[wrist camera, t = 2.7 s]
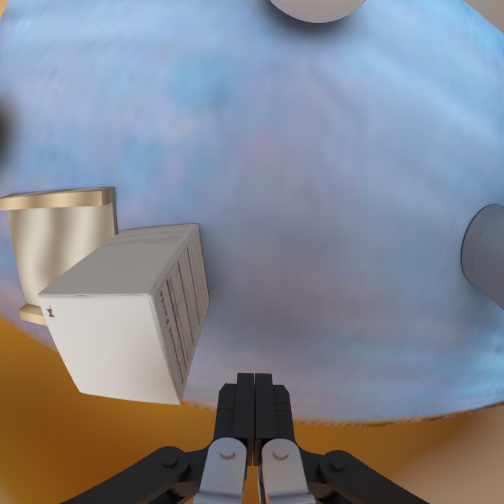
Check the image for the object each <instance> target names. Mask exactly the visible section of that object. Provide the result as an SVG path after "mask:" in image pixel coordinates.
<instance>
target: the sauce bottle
mask: <svg viewBox="0 0 504 504" xmlns="http://www.w3.org/2000/svg"><path fill="white" fill-rule="evenodd" d="M270 1H271V2H272V3H273V4H274V5H275V6H276V7H277V8H279V9H280V10H281V11H283V12H284V13H286V14H288V15H290V16H292V17H294V18H296V19H299V20H302V21H306V22H312V23H326V22H331V21H335V20H338V19H340V18H343V17H345V16H347V15H349V14H351V13H352V12H353V11H355V10H356V9H358V8H359V7H360V6H361V5H362V4H363V3H364V2H365V1H366V0H270Z"/></svg>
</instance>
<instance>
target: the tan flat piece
mask: <svg viewBox="0 0 504 504" xmlns="http://www.w3.org/2000/svg"><path fill="white" fill-rule="evenodd" d="M0 210H8V218H9V225H10V232H11V238H12V244H13V249H14V254H15V259H16V264H17V268H18V273H19V277H20V281H21V285H22V289H23V292H24V296H25V300H26V304H25V305H24V306H23V307H22V308H20V309H19V310H18V311H19V314H20V317H21V319H22V320H26V321H29V322H33V323H37V324H41V325H45V326H47V323H46V321H45V318H44V316H43V313H42V310H41V307H40V304H39V301H38V297H37V294H38V293H39V292H41V291H42V290H43V289H44V288H45V287H47V286H48V285H49V284H50V283H52V282H53V281H54V280H56V279H57V278H58V277H59V276H61V275H62V274H63V273H65V272H66V271H67V270H69V269H70V268H71V267H72V266H74V265H75V264H76V263H78V262H79V261H81V260H82V259H83V258H85V257H86V256H87V255H89V254H90V253H91V252H93V251H94V250H96V249H97V248H98V247H100V246H101V245H103V244H104V243H105V242H107V241H108V240H110V239H111V238H113V237H114V236H116V235H117V234H118V232H117V219H116V205H115V187H102V188H83V189H68V190H55V191H43V192H32V193H22V194H13V195H8V196H4V197H1V198H0Z"/></svg>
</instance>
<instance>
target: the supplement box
mask: <svg viewBox="0 0 504 504" xmlns="http://www.w3.org/2000/svg"><path fill="white" fill-rule="evenodd" d="M37 297H38V301H39V304H40V307H41V310H42V313H43V316H44V318H45V321H46V323H47V326H48V328H49V331H50V333H51V335H52V338H53V340H54V342H55V344H56V346H57V349H58V351H59V353H60V355H61V357H62V359H63V361H64V363H65V365H66V367H67V369H68V371H69V373H70V375H71V377H72V379H73V381H74V383H75V384H76V386H77V388H78V389H79V391H80V392H82V393H86V394H92V395H98V396H105V397H111V398H118V399H125V400H133V401H142V402H153V403H163V404H177V405H180V404H181V401H182V397H183V394H184V389H185V386H186V382H187V378H188V375H189V371H190V367H191V364H192V360H193V356H194V352H195V349H196V345H197V342H198V338H199V335H200V332H201V328H202V325H203V322H204V318H205V315H206V312H207V308H208V305H209V301H210V300H209V295H208V289H207V282H206V276H205V269H204V262H203V255H202V247H201V240H200V232H199V225H198V224H197V223H195V224H181V225H170V226H160V227H150V228H141V229H132V230H123V231H121V232H120V233H118V234H117V235H116V236H114V237H113V238H111V239H110V240H108V241H107V242H105V243H104V244H103V245H101V246H100V247H98V248H97V249H96V250H94V251H93V252H91V253H90V254H89V255H87V256H86V257H85V258H83V259H82V260H81V261H79V262H78V263H76V264H75V265H74V266H72V267H71V268H70V269H69V270H67V271H66V272H65V273H63V274H62V275H61V276H59V277H58V278H57V279H56V280H54V281H53V282H52V283H50V284H49V285H48V286H47V287H45V288H44V289H43V290H42V291H41V292H39V293H38V294H37Z"/></svg>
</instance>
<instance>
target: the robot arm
mask: <svg viewBox="0 0 504 504" xmlns="http://www.w3.org/2000/svg"><path fill="white" fill-rule="evenodd" d="M462 267H463V271H464V274H465V276H466V278H467V279H468V281H470V282H471V283H472V284H473V285H475V286H476V287H477V288H478V289H480V290H481V291H482V292H483V293H485V294H486V295H487V296H488V297H489V298H490V299H492V300H493V301H494V302H495V303H496V304H498V305H499V306H500V307H501V308H502V309H504V207H503V206H500V205H496V204H495V205H490V206H487V207H485V208H484V209H483V210H481V211H480V212H479V213H478V214H477V215H476V217H475V218H474V219H473V221H472V223H471V224H470V226H469V228H468V231H467V233H466V236H465V239H464V243H463V249H462ZM252 454H253V466H258V470H259V471H258V489H259V498H260V504H430V503H427V502H426V501H424V500H422V499H420V498H419V497H417V496H415V495H414V494H411V493H410V492H408V491H407V490H405V489H403V488H402V487H400V486H398V485H397V484H395V483H393V482H392V481H390V480H389V479H387V478H385V477H384V476H382V475H380V474H379V473H378V472H376V471H375V470H373V469H371V468H370V467H368V466H367V465H365V464H364V463H362V462H361V461H360V460H358V459H356V458H355V457H354V456H352V455H351V454H349V453H348V452H345V451H342V450H335V451H330V452H328V453H326V454H325V455H320V454H315V453H310V452H307V451H305V450H303V449H302V448H300V447H299V446H298V444H297V443H296V441H295V437H294V429H293V421H292V413H291V405H290V397H289V392H288V391H287V390H286V388H285V387H284V385H273V383H272V374H264V373H255V383H254V373H238V375H237V384H227V383H225V384H224V386H223V387H222V388H221V390H220V391H219V398H218V406H217V415H216V423H215V431H214V438H213V440H212V442H211V443H210V444H209V445H208V446H207V447H206V448H204V449H201V450H198V451H192V452H185V453H184V452H183V451H182V450H181V449H179V448H176V447H172V446H166V447H162V448H159V449H157V450H156V451H154V452H153V453H151V454H150V455H148V456H146V457H145V458H143V459H142V460H140V461H138V462H137V463H135V464H133V465H132V466H130V467H128V468H127V469H125V470H123V471H122V472H120V473H118V474H116V475H115V476H113V477H111V478H110V479H108V480H106V481H104V482H102V483H100V484H99V485H97V486H95V487H93V488H91V489H89V490H87V491H85V492H83V493H81V494H79V495H77V496H75V497H73V498H71V499H69V500H67V501H65V502H63V503H61V504H184V503H185V502H186V501H188V500H189V499H190V498H192V497H193V496H195V498H194V502H193V504H242V499H243V492H244V483H245V481H246V477H247V466H251V465H252Z"/></svg>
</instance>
